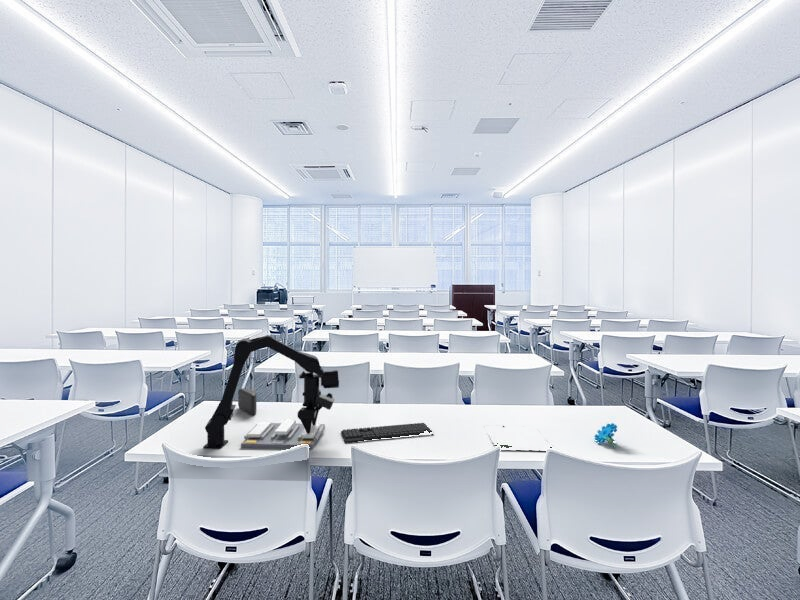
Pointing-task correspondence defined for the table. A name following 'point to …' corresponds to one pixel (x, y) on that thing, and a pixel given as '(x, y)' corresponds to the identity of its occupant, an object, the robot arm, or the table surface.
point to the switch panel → (281, 438)
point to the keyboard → (383, 432)
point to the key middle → (285, 427)
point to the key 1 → (259, 429)
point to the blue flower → (606, 434)
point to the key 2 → (312, 431)
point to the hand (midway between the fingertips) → (311, 428)
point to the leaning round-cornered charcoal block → (247, 400)
